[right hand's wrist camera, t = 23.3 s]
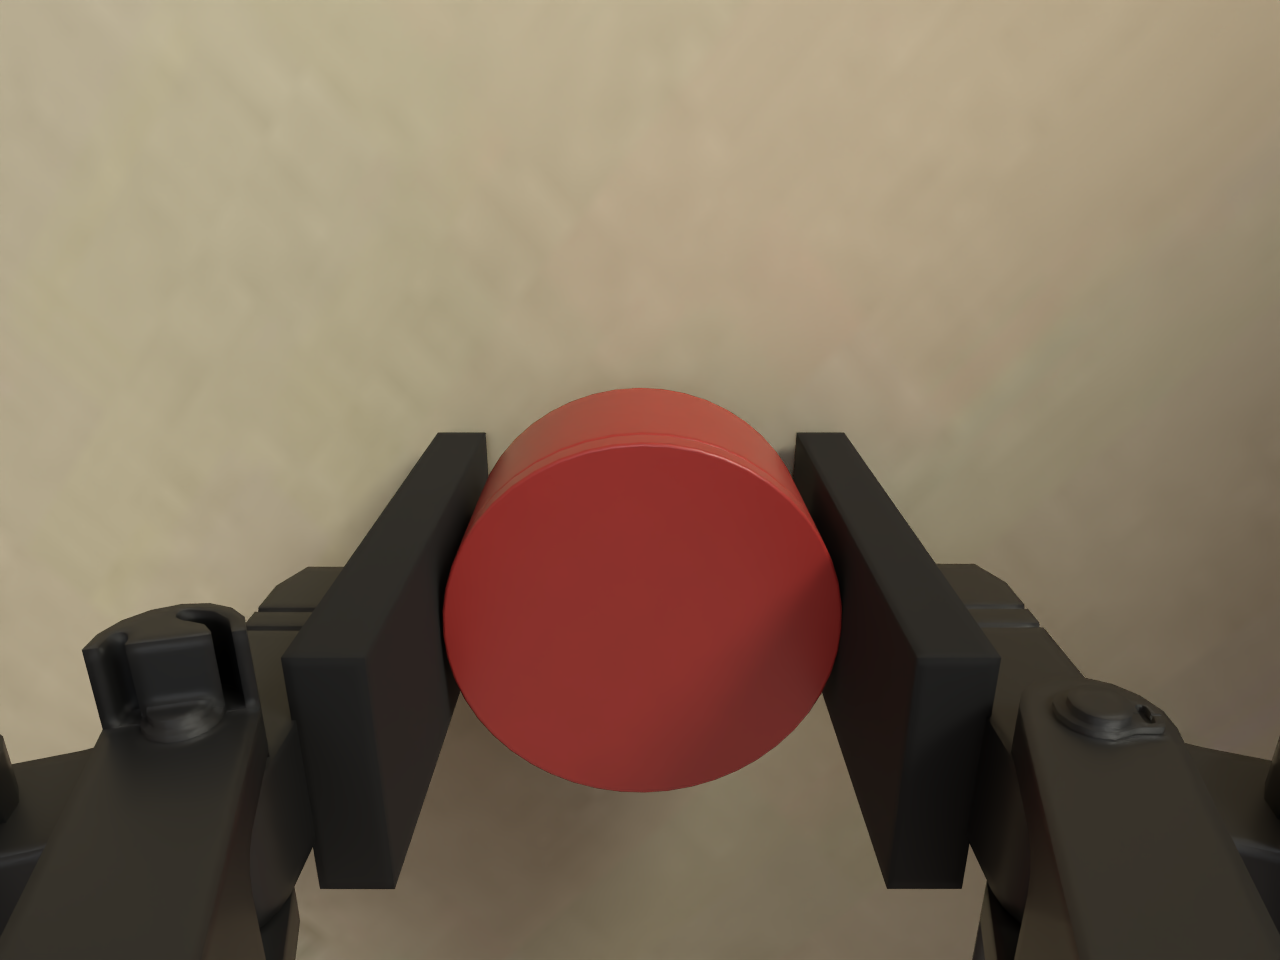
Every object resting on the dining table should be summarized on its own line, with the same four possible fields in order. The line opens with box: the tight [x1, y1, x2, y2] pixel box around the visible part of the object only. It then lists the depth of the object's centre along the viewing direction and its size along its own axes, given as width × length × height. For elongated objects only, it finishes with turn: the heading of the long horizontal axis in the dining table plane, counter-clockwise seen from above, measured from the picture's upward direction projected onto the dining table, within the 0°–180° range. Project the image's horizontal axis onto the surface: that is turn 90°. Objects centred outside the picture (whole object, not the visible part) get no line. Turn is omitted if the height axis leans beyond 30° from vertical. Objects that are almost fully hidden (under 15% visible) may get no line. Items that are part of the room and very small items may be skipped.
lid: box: [442, 388, 842, 792], centre depth 12 cm, size 5×5×2 cm
